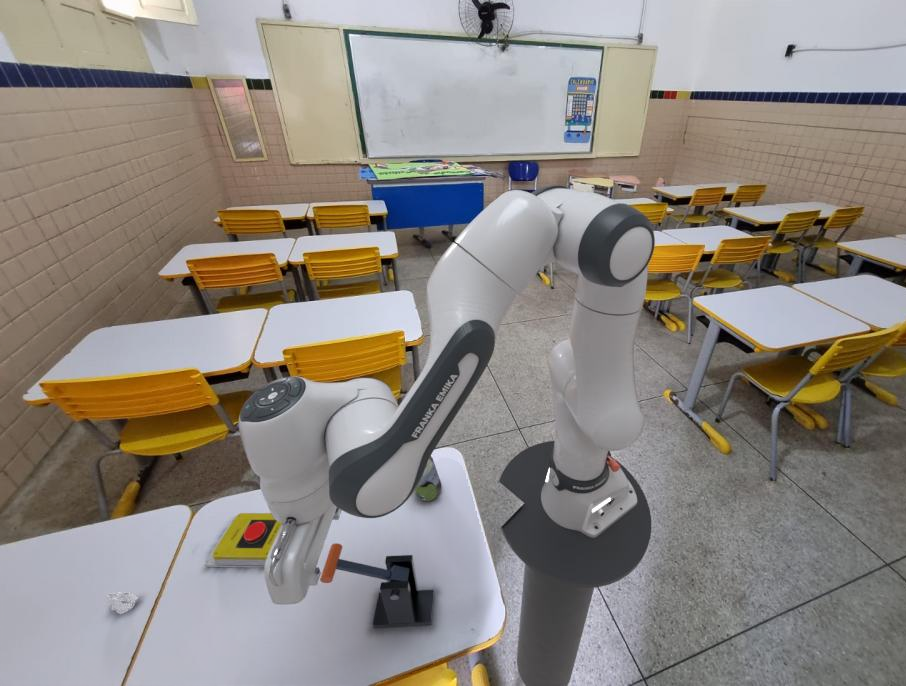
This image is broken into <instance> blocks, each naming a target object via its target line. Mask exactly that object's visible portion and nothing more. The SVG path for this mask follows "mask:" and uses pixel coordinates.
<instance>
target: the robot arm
mask: <svg viewBox="0 0 906 686" xmlns="http://www.w3.org/2000/svg"><path fill="white" fill-rule="evenodd" d="M655 241H656V239H655V231H654V227H653V223H652V222H651V220H650V219H649V218H648V216H647V215H645V214H644V213H643V212H642V211H640V210H639V209H637V208H636V207H634V206H632V205H630V204H627V203H623V202H622V203H621V202H619V201H616V200H614V199H613V198H610V197H608V196H605V195H602V194H599V193H598V192H597V193H596V192H594V191H585V190H580V189H574V188H569V187H567V186H565V185H546V186H543V187H539V188H537V189H535V190H534V191H532V192H528V191H525V190H521V189H511V190H508V191H506V192H504V193H502V194H500V195H499V196H498V197H497V198H496V199H494V200H493V201H492V202H491V203H489V205H487V206H486V207H485V208H484V209H483V210H482V211H480V213H478V214H477V216H476V217H475V218H473V219H472V220H471V222H470V223H469V224H468V225H467V226H466V227H465V228H463V230H462V231H460V233H459V235H458V236H457V237H455V239H454V242H452V243H451V244H450V246H448V247H447V249H446V250H445V252H444V253H443V254H442V256H441V257H440V258H439V260H438V261H437V263H436V264H435V266H434V268H433V270H432V272H431V274H430V276H429V278H428V280H427V283H426V290H425V291H426V293H425V294H426V295H425V296H426V297H425V298H426V304H427V309H428V316H429V317H428V318H429V327H430V340H429V341H430V343H429V350H428V355H427V358H426V362H425V364H424V366H423V369H422V370H421V372H420V374H419V376H417V378H416V380H415V382H413V384H412V386H411V387H410V389H409V390H408V392H407V393H406V395H405V396H404V398H403V399H402V401H401V402H400V404H398V401H397V400H396V397H395V395H394V392H393V390H392V388H391V386H389V385H388V384H387V383H386V382H385V381H383V380H380V379H379V378H375V377H367V376H366V377H363V376H362V377H355V378H352V379H348V380H345V381H342V382H341V381H340V382H320V381H319V382H318V381H313V380H310V379H308V378H305V377H303V376H297V375H293V376H292V375H291V376H285V377H279V378H277V379H275V380H272V381H269V382H267V383H266V384H264V385H263V386H261V387H259V388H257V390H255V391H254V392H253V393H251V395H250V396H249V397H248V398H247V400H246V401H244V403H243V405H242V408H241V410H240V412H239V415H238V431H239V436H240V440H241V444H242V447H243V450H244V453H245V456H246V458H247V461H248V463H249V466H250V468H251V470H252V471H253V472H254V474H255V475H257V476H258V477H259V488H260V492H261V493H262V496H263V498H264V501H265V503H266V505H267V507H268V509H269V513H271V514H272V516H273V517H274V519H275V520H277V521H278V522H280V523H282V525H281V527H280V529H279V531H278V534H277V536H276V538H275V540H274V542H273V544H272V547H271V549H270V551H269V553H268V556H267V559H266V562H265V567H264V568H263V574H264V580H265V585H266V588H267V592H268V595H269V598H270V601H271V602H272V603H273V604H275V605H278V606H279V605H280V606H282V605H283V606H287V605H288V606H289V605H296V604H300V603H301V602H302V601H304V600H305V599H306V597H307V595H308V592H309V588H310V587H312V586H313V587H314V586H317V585H318V583H319V580H320V578H321V575H322V572H321V570H320V567H319V566H318V563H319V559H320V557H321V554H322V551H323V548H324V546H325V543H326V540H327V537H328V534H329V531H330V528H331V526H332V522H333V521H338V520H339V519H340V516H341V514H342V511H343V512H344V513H346V514H349V515H351V516H354V517H357V518H361V519H377V518H381V517H385V516H388V515H390V514H392V513H393V512H395V511H396V510H398V509H399V508H400V507H402V506H403V505H404V504H405V503H406V502H407V501H408V500H409V499H410V498H411V496H412V495H413V493H415V489H416V487H417V485H418V484H419V482H420V480H421V478H422V476H423V473H424V471H425V468H426V465H427V463H428V460H429V458H430V456H432V454H433V453H434V451H435V449H436V447H437V446H438V444H439V443H440V441H441V440H442V438H443V436H444V435H445V433H446V432H447V430H448V429H449V428H450V426H451V424H452V422H453V421H454V419H455V418H456V417H457V414H458V413H459V412H460V410H461V409H462V407H463V405H464V404H465V402H467V399H468V398H469V396H470V395H471V393H472V392H473V390H474V388H475V387H476V386H477V384H478V382H479V380H480V379H481V377H482V375H483V374H484V372H485V371H486V369H487V367H488V365H489V363H490V361H491V359H492V356H493V354H494V351H495V344H496V339H497V335H498V334H499V331H500V328H501V327H502V324H503V322H504V320H505V318H506V317H507V315H508V313H509V311H510V310H511V308H512V307H513V305H514V304H515V303H516V302H517V300H518V299H519V298H520V296H521V295H522V294H523V293H524V292H525V290H526V289H527V287H529V285H530V284H531V282H532V281H533V279H534V278H535V277H536V275H537V274H538V272H539V271H540V270H541V269H542V268H545V266H548V265H549V264H552V263H553V264H554V265H555V266H557V267H560V268H562V269H564V270H567V271H569V272H572V273H573V274H576V275H578V278H577V282H576V287H575V292H574V298H573V306H572V313H571V319H570V325H569V332H568V333H569V338H568V339H565V340H562V341H561V342H559V343H557V344H555V346H554V347H553V348H552V349H551V351H550V352H549V353H548V357H547V365H548V366H547V367H548V370H549V371H548V372H549V376H550V381H551V382H550V383H551V391H552V405H553V413H554V414H553V415H554V421H555V423H554V425H555V434H554V441H555V442H554V448H553V450H552V453H551V458H550V467H549V470H548V474H547V477H546V482H545V484H544V486H543V488H542V491H541V502H542V505H543V508H544V510H545V512H546V513H547V515H548V516H549V517H550V518H551V519H552V520H553V521H554V522H556V523H557V524H559V525H560V526H562V527H565V528H567V529H571V530H577V531H580V532H582V533H583V534H585V535H587V536H589V537H591V538H595V537H597V536H598V535H600V534H601V533H602V532H603V531H605V530H606V529H607V528H608V527H610V526H611V525H612V524H614V523H615V522H616V521H617V520H619V519H620V518H621V517H622V516H624V515H625V514H626V513H627V512H629V511H630V510H631V509H632V508H634V507H635V506H636V505H637V496H636V493H635V491H634V489H633V487H632V485H631V483H630V482H629V481H628V479H627V478H626V476H625V474H624V472H623V471H622V469H621V468H620V465H619V464H618V463H617V462H616V460H617V459H615V458H614V459H612V458H613V457H612V453H611V452H617V451H621V450H624V449H627V448H629V447H631V445H633V444H634V443H635V442H636V441H637V440H638V439H639V438H640V437H641V434H642V432H643V430H644V427H645V417H644V414H643V411H642V408H641V405H640V402H639V397H638V394H637V386H636V375H635V359H634V358H635V357H634V355H635V353H634V351H635V343H636V342H635V341H636V336H637V332H638V327H639V323H640V319H641V313H642V310H643V306H644V302H645V298H646V292H647V285H648V276H649V263H650V261H651V260H652V257H653V254H654V250H655V244H656V243H655ZM611 457H612V458H611ZM629 492H631V493H629ZM595 527H596V528H598V529H595Z"/></svg>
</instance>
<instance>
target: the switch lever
mask: <svg viewBox="0 0 906 686" xmlns="http://www.w3.org/2000/svg"><path fill="white" fill-rule="evenodd" d="M329 548H330V549H329V551H328V555H327V558H326V561H325V563H324V567H323V569H322V572H321V574H320V577H319V580H320V582H321V583H323V584H331V583H333V580H334V577H335V573H336V570H338V571H341V572H346V573H352V574H357V575H361V576H367V577H371V578H374V579H380V580H384V581H386V582H400V581H408V575H409V568H405V567H401V566H396V565H393V567H392V568H391V570H387V568H382V567H377V566H373V565H369V564H364V563H359V562H355V561H351V560H345V559H342V558H340V557H341V553H342V551H343V545H342V544H341V543H332V544H331V545H330V547H329Z"/></svg>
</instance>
